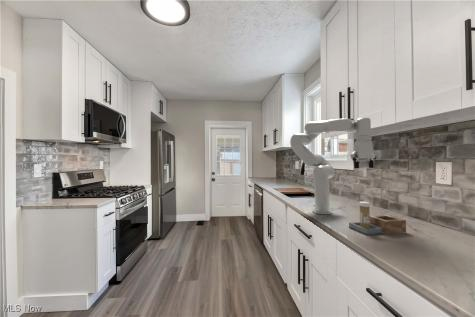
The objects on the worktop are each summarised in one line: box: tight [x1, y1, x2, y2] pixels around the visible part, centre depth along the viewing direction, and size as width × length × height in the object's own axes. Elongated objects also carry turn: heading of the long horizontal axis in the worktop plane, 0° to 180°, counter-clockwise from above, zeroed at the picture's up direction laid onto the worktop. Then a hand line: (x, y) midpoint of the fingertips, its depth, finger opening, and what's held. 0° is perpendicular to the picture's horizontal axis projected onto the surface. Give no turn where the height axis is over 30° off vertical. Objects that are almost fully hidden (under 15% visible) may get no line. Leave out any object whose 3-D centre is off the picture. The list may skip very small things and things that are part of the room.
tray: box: [348, 221, 384, 236], centre depth 110 cm, size 12×9×2 cm
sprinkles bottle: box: [358, 201, 371, 229], centre depth 110 cm, size 5×5×14 cm
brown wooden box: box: [370, 214, 407, 235], centre depth 110 cm, size 11×11×6 cm
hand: (364, 168), depth 129 cm, fingers open, 9 cm apart
